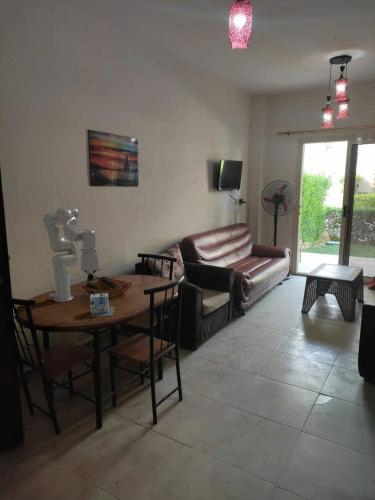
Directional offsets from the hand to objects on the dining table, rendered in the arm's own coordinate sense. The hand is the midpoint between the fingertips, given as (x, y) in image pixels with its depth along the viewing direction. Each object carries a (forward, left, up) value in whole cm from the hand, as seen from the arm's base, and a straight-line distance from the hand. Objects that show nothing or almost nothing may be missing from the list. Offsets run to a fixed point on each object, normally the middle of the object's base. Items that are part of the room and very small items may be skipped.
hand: (90, 280), depth 215 cm
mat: (+7, +1, -21) cm, 22 cm away
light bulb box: (-1, 0, -15) cm, 15 cm away
